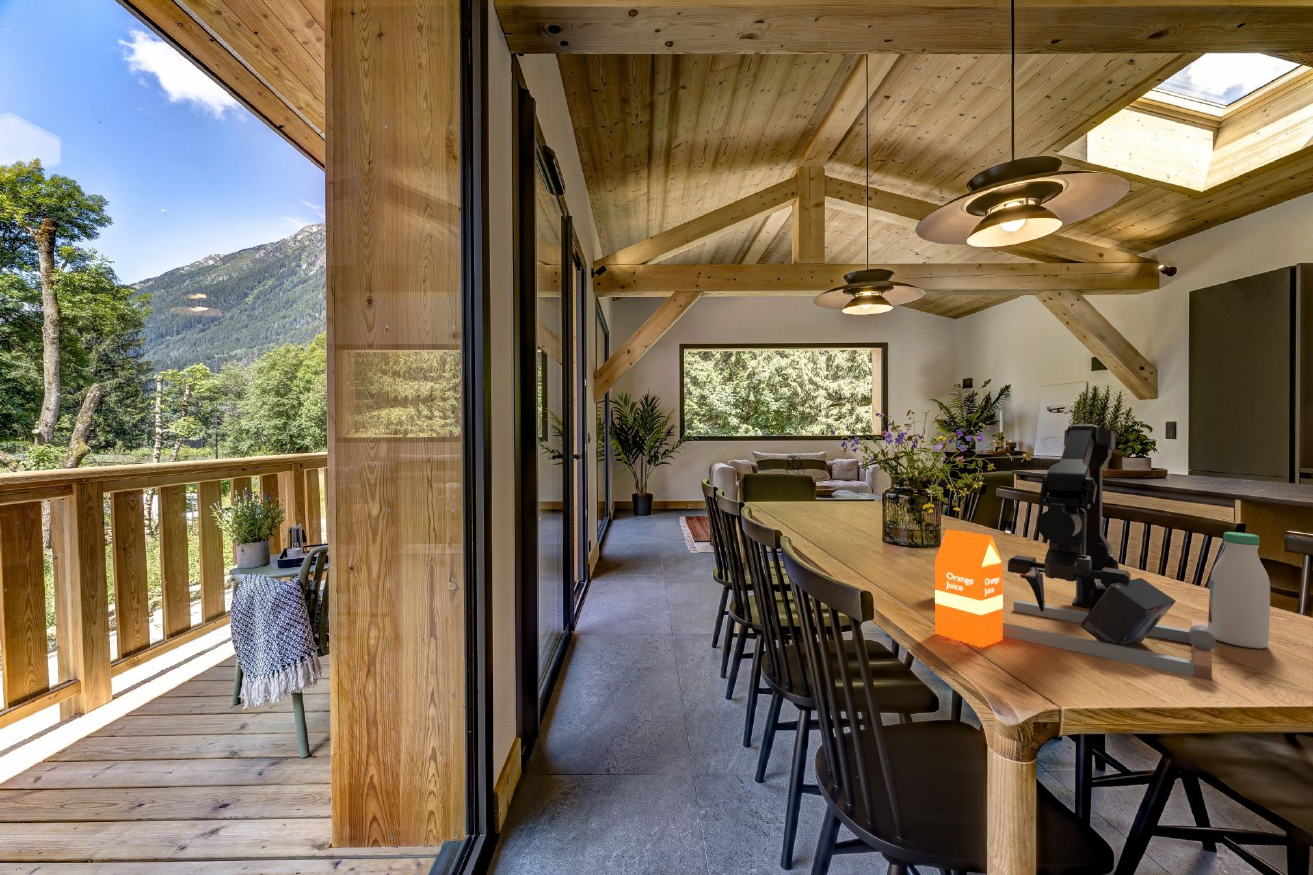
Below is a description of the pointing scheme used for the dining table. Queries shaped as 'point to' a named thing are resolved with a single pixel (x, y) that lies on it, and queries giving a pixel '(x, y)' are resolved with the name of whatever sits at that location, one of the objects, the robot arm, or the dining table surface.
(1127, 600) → the small box
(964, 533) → the orange juice
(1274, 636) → the dining table surface
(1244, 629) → the milk bottle
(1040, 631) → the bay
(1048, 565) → the robot arm
